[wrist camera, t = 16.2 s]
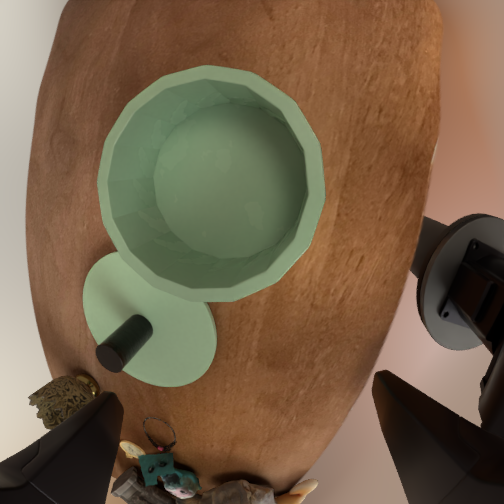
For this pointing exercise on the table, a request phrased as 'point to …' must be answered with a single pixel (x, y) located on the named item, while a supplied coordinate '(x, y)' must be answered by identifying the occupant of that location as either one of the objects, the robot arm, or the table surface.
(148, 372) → the lid
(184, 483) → the figurine
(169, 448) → the necklace
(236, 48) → the table surface
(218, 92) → the pot
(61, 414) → the cup
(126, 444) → the pocket watch
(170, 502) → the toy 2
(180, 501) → the eagle figurine
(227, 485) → the stone
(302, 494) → the toy
